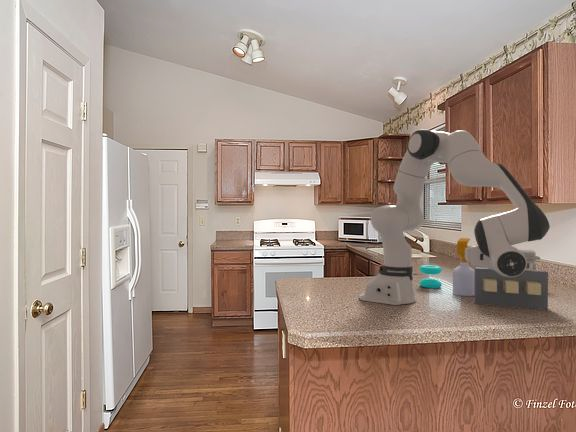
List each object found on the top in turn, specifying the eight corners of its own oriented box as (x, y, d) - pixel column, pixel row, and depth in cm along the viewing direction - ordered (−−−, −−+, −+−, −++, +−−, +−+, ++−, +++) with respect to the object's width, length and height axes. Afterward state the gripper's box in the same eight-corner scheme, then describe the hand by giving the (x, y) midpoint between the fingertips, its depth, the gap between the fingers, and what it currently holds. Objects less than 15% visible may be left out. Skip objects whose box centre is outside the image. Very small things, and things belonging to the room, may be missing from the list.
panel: (475, 303, 144) (475, 255, 144) (474, 301, 147) (474, 254, 147) (547, 309, 135) (548, 258, 135) (545, 307, 138) (545, 257, 137)
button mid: (506, 292, 136) (506, 281, 136) (503, 288, 143) (503, 278, 143) (518, 293, 135) (518, 282, 135) (514, 289, 141) (514, 279, 141)
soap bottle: (478, 294, 161) (478, 238, 160) (471, 297, 154) (471, 239, 154) (456, 291, 167) (457, 237, 167) (449, 294, 160) (449, 238, 160)
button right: (528, 294, 134) (528, 283, 134) (523, 290, 140) (524, 280, 140) (541, 295, 132) (541, 284, 132) (536, 291, 139) (536, 280, 139)
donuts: (416, 264, 182) (436, 264, 182) (416, 284, 182) (436, 284, 182) (423, 267, 172) (445, 267, 172) (423, 288, 172) (445, 288, 172)
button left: (484, 291, 139) (485, 280, 139) (482, 287, 146) (482, 277, 146) (496, 291, 138) (497, 281, 138) (494, 288, 144) (494, 278, 144)
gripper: (542, 248, 110) (531, 244, 123) (466, 246, 118) (463, 242, 130) (541, 269, 110) (531, 263, 123) (466, 265, 118) (463, 260, 130)
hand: (495, 252), depth 127 cm, fingers open, 4 cm apart
